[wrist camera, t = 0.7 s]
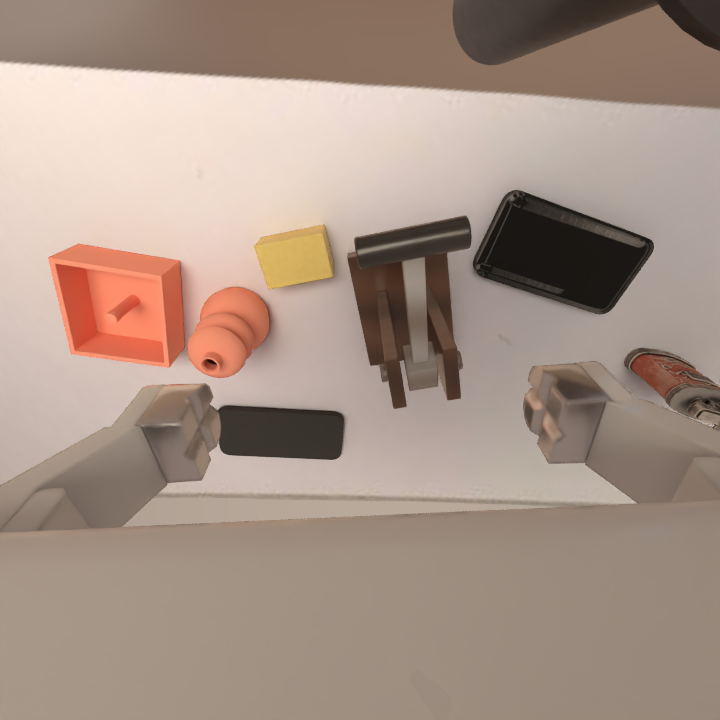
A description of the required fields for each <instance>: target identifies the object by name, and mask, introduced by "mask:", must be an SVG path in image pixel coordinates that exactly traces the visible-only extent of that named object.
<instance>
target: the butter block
mask: <svg viewBox="0 0 720 720" xmlns="http://www.w3.org/2000/svg"><path fill="white" fill-rule="evenodd" d="M254 247H255V250H256V253H257V256H258V259H259V262H260V265H261V268H262V271H263V274H264V277H265V280H266V283H267V286H268V289H274V288H279V287H284V286H289V285H295V284H300V283H305V282H310V281H315V280H321V279H326V278H331V277H333V272H334V263H333V258H332V254H331V250H330V246H329V241H328V237H327V233H326V228H325V225H319V226H314V227H310V228H305V229H300V230H295V231H290V232H285V233H280V234H275V235H270V236H266V237H261V238H260V240H259V241H258V242H257V244H256V245H255V246H254Z"/></svg>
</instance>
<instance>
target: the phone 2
mask: <svg viewBox="0 0 720 720" xmlns="http://www.w3.org/2000/svg"><path fill="white" fill-rule="evenodd" d="M653 249H654V244H653V242H652V241H651V240H650V239H648V238H646V237H643V236H641V235H638V234H635V233H633V232H630V231H627V230H625V229H622V228H619V227H616V226H614V225H611V224H608V223H606V222H603V221H600V220H598V219H595V218H592V217H590V216H587V215H584V214H582V213H579V212H576V211H574V210H571V209H568V208H566V207H563V206H560V205H558V204H555V203H552V202H549V201H547V200H544V199H541V198H539V197H536V196H533V195H531V194H528V193H525V192H523V191H519V190H514V191H511V192H509V193H508V194H507V195H506V196H505V197H504V198H503V200H502V202H501V204H500V206H499V208H498V210H497V212H496V214H495V216H494V218H493V220H492V223H491V225H490V227H489V229H488V231H487V233H486V235H485V237H484V239H483V241H482V243H481V246H480V248H479V250H478V252H477V254H476V256H475V258H474V261H473V266H474V269H475V270H476V271H477V273H478V274H479V275H480V276H482V277H484V278H487V279H491V280H494V281H497V282H500V283H503V284H506V285H509V286H511V287H514V288H518V289H521V290H524V291H528V292H531V293H534V294H537V295H540V296H543V297H546V298H549V299H552V300H555V301H558V302H561V303H565V304H568V305H571V306H574V307H577V308H580V309H583V310H586V311H589V312H592V313H595V314H605V313H607V312H609V311H610V310H611V309H612V308H613V307H614V306H615V305H616V303H617V302H618V300H619V299H620V298H621V296H622V295H623V293H624V292H625V291H626V289H627V288H628V286H629V285H630V284H631V282H632V281H633V279H634V278H635V277H636V275H637V274H638V272H639V271H640V270H641V268H642V267H643V265H644V264H645V262H646V261H647V260H648V258H649V257H650V255H651V254H652V252H653Z"/></svg>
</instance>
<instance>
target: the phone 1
mask: <svg viewBox="0 0 720 720" xmlns="http://www.w3.org/2000/svg"><path fill="white" fill-rule="evenodd" d="M218 413H219V416H220V422H221V433H220V439H219V444H220V449H221V451H222V452H223V453H225V454H227V455H237V456H259V457H282V458H304V459H327V460H333V459H337V458H339V457H340V455H341V450H342V439H343V426H344V419H343V416H342V415H341V414H339V413H337V412H324V411H305V410H286V409H267V408H248V407H228V406H226V407H221V408H219V410H218Z"/></svg>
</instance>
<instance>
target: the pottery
mask: <svg viewBox="0 0 720 720" xmlns="http://www.w3.org/2000/svg"><path fill="white" fill-rule="evenodd" d="M48 259H49V263H50V267H51V271H52V276H53V280H54V284H55V288H56V292H57V297H58V301H59V305H60V309H61V314H62V318H63V322H64V326H65V331H66V335H67V339H68V343H69V348H70V352H71V354H75V355H82V356H89V357H96V358H103V359H110V360H118V361H125V362H132V363H139V364H146V365H154V366H161V367H168V368H169V367H170V366H171V365H172V363H173V362H174V361H175V359H176V358H177V357H178V355H179V354H180V352H181V351H182V350H183V348H184V347H185V339H184V322H183V305H182V288H181V271H180V261H178V260H172V259H166V258H160V257H154V256H148V255H142V254H136V253H130V252H124V251H118V250H112V249H106V248H100V247H94V246H88V245H82V244H77V245H75V246H73V247H70V248H68V249H66V250H64V251H62V252H59V253H57V254H55V255H53V256H50V257H48ZM268 330H269V315H268V310H267V307H266V305H265V304H264V302H263V301H262V299H261V298H260V297H259V296H257V295H256V294H255V293H253V292H252V291H250V290H247V289H244V288H240V287H230V288H226V289H223V290H221V291H219V292H216V293H214V294H213V295H212V296H210V297H209V298H208V300H207V301H206V302H205V303H204V305H203V307H202V310H201V314H200V322H199V323H198V324H197V327H196V329H195V333H194V334H193V335H192V336H191V338H190V340H189V343H188V356H189V359H190V361H191V363H192V364H193V365H194V366H195V367H196V368H197V369H198V370H199V371H201V372H202V373H204V374H206V375H208V376H212V377H217V378H225V377H229V376H232V375H234V374H235V373H237V372H238V371H239V370H240V369H241V368H242V367H243V366H244V364H245V361H246V359H247V358H248V357H249V356H250V355H251V353H252V350H253V349H255V348H257V347H258V346H259V345H260V344H261V343H262V342H263V341H264V339H265V338H266V336H267V333H268Z"/></svg>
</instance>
